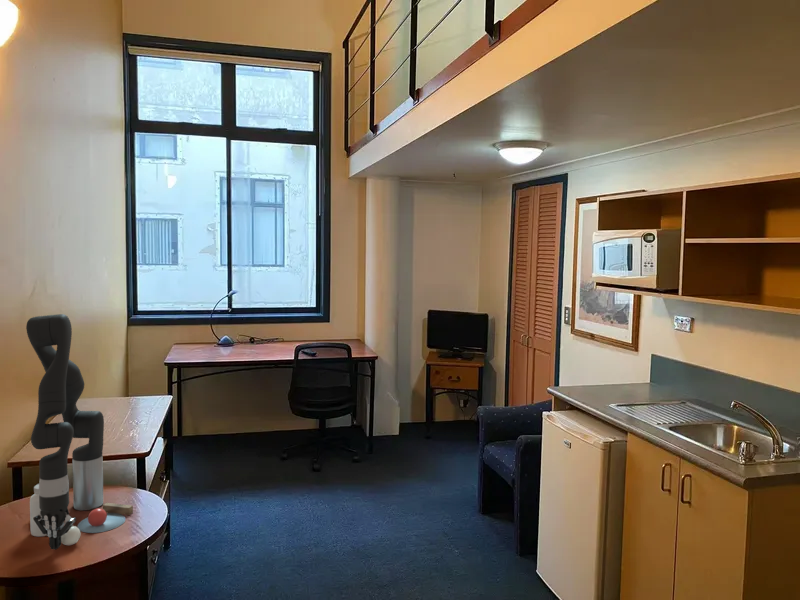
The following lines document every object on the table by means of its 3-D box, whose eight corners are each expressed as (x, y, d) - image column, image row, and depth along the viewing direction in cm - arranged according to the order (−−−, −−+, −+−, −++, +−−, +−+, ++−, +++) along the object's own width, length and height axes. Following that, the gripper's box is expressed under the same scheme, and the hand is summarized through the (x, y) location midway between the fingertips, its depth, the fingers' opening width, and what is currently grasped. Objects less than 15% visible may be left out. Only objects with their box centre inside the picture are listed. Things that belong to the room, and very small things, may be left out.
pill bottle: (26, 538, 182) (25, 491, 181) (35, 526, 190) (34, 481, 189) (55, 535, 184) (54, 489, 183) (63, 524, 192) (61, 479, 191)
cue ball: (58, 525, 179) (62, 538, 182) (57, 538, 175) (62, 551, 177) (78, 519, 181) (82, 532, 184) (77, 532, 177) (82, 545, 179)
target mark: (73, 520, 195) (73, 520, 195) (119, 509, 204) (119, 509, 204) (82, 537, 184) (82, 536, 184) (130, 524, 193) (130, 524, 193)
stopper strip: (102, 512, 202) (102, 505, 201) (106, 509, 204) (106, 502, 203) (129, 515, 200) (129, 508, 200) (132, 512, 202) (132, 505, 201)
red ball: (83, 510, 191) (90, 519, 194) (86, 523, 187) (93, 532, 190) (101, 501, 193) (107, 511, 196) (104, 514, 189) (110, 524, 192)
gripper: (24, 493, 170) (25, 551, 172) (64, 498, 168) (65, 557, 169) (44, 483, 178) (45, 539, 179) (83, 488, 175) (84, 544, 177)
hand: (55, 548), depth 174 cm, fingers closed
